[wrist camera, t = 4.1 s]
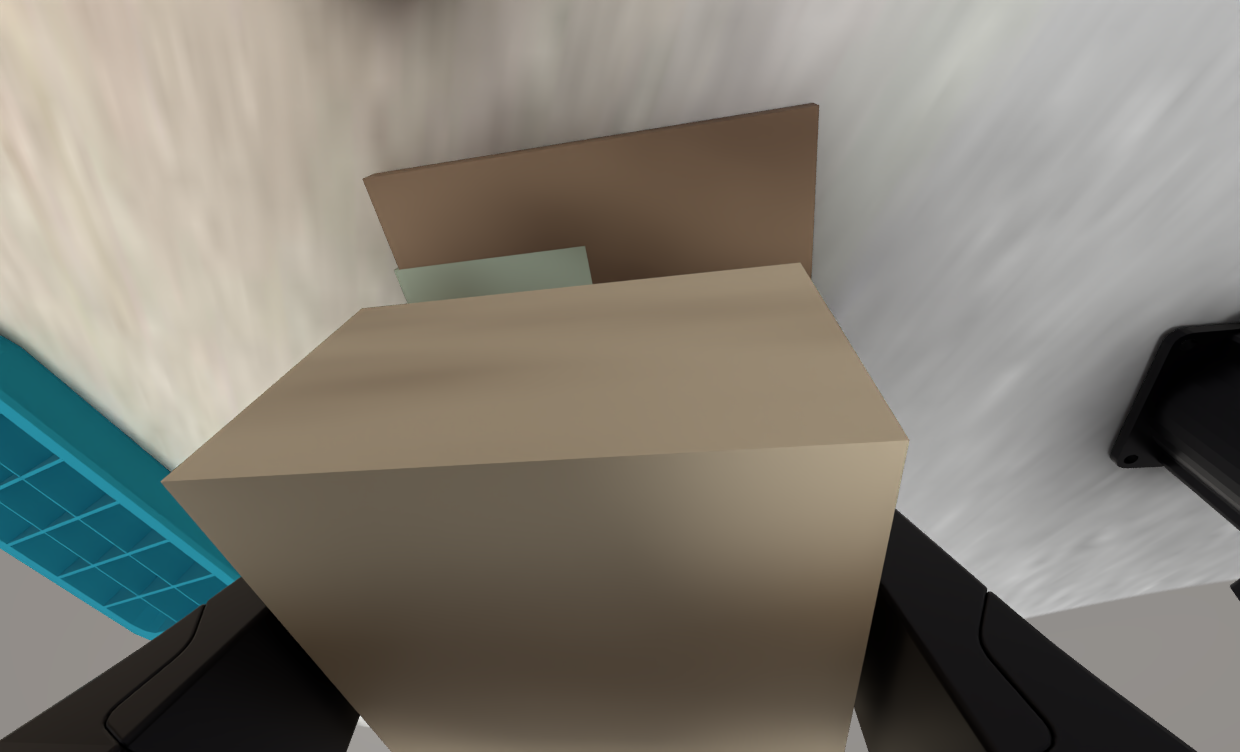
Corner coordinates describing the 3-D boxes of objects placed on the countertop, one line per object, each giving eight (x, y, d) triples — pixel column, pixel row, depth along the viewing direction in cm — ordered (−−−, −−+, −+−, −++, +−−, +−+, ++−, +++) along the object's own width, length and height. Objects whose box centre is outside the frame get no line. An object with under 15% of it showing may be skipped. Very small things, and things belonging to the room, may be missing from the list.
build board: (801, 393, 22) (805, 404, 21) (465, 418, 24) (459, 429, 23) (812, 103, 16) (819, 105, 15) (368, 174, 18) (356, 179, 17)
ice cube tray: (-6, 300, 23) (-89, 331, 21) (307, 569, 32) (277, 613, 30) (-127, 379, 26) (-211, 414, 24) (188, 602, 36) (151, 644, 33)
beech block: (785, 567, 11) (836, 792, 8) (482, 574, 12) (411, 775, 9) (800, 262, 7) (909, 440, 4) (362, 308, 8) (159, 482, 5)
